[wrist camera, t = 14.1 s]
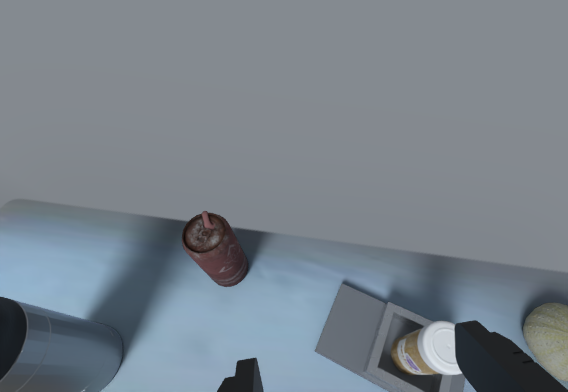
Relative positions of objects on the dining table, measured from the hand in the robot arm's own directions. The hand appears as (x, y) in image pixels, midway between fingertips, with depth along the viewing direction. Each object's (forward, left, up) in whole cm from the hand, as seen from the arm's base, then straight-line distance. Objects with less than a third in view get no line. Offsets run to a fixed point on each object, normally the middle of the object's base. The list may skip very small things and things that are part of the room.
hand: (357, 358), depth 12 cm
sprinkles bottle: (+7, -9, -32) cm, 34 cm away
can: (+7, +19, -33) cm, 39 cm away
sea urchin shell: (+17, -26, -33) cm, 45 cm away
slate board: (+7, -7, -33) cm, 34 cm away
